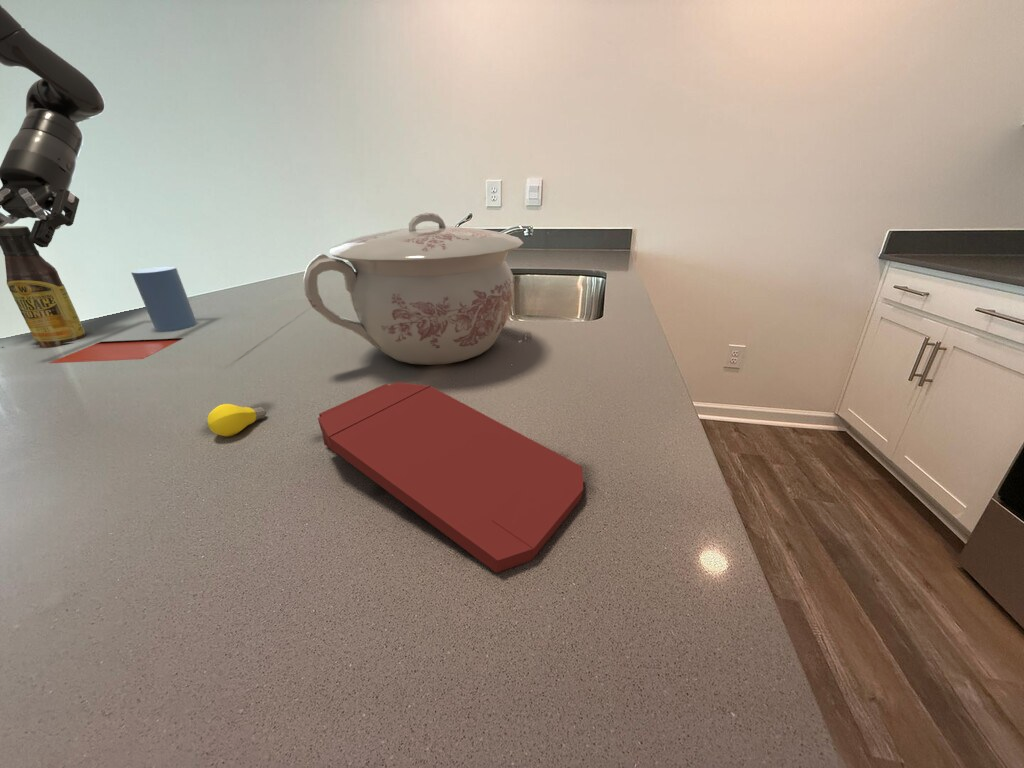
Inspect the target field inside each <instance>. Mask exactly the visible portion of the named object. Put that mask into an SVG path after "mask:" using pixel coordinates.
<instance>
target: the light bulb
mask: <svg viewBox="0 0 1024 768" xmlns="http://www.w3.org/2000/svg"><path fill="white" fill-rule="evenodd" d="M266 415H267V410H266V409H264V408H263V407H261V406H259V407H255V408H252V407H250V406H249V407H248V406H241V405H236V404H231V403H222V404H220V405H217V406H216V407H215V408H213V409H212V410H211V411H210V412H209V414H208V415H207V420H206V422H207V425H208V428H209V430H210V431H211V432H212V433H214V434H216V435H219V436H222V437H233V436H235V435H237V434H239V433H240V432H241V431H242V430H244V429H245V428H247V426H249V425H252V424H253V423H254V422H255V421H258V420H259V421H260V420H263V419H265V418H266Z"/></svg>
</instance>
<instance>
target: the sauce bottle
mask: <svg viewBox="0 0 1024 768" xmlns="http://www.w3.org/2000/svg"><path fill="white" fill-rule="evenodd" d="M30 233H31V230H30V228H29V227H28V226H26V225H9V226H8V225H7V226H6V225H4V226H3V227H0V248H1V250H2V253H3V254H2V255H4V264H5V274H6V285H7V287H8V289H9V292H10V293H11V295H12V297H13V299H14V302H15V304H16V306H17V307H18V309H19V311H20V314H21V316H22V317H23V319H24V322H25V324H26V326H27V327H28V329H29V331H30V333H31V335H32V337H33V340H34V341H35V342H36V343H37V344H38V346H39V347H40V348H55V347H56V348H57V347H62V346H67V345H72V344H73V342H72V341H76V340H79V339H83V338H84V337H85V336H86V331H85V329H84V326H83V325H82V322H81V320H80V317H79V315H78V314H77V313H78V312H77V311H76V308H75V306H74V304H73V302H72V300H71V298H70V296H69V293H68V291H67V289H66V286H65V284H64V283H63V282H62V280H61V278H60V274H59V273H58V270H57V268H55V267H54V266H53V265H52V264H51V263H49V262H48V261H46V259H45V258H43V256H41V255H40V251H39V249H37V246H36V244H34V243H33V242H31V241H30V240H29V236H30Z"/></svg>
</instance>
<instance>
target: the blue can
mask: <svg viewBox="0 0 1024 768" xmlns="http://www.w3.org/2000/svg"><path fill="white" fill-rule="evenodd" d="M130 274H131V276H132V278H133V281H134V283H135V285H136V288H137V290H138V292H139V295H140V297H141V300H142V302H143V304H144V307H145V309H146V311H147V314H148V316H149V318H150V321H151V323H152V325H153V328H154V330H155V331H156V332H159V333H167V332H176V331H182V330H185V329H189V328H192V327H194V326H197V324H198V322H197V319H196V317H195V313H194V311H193V308H192V306H191V303H190V301H189V298H188V295H187V292H186V289H185V287H184V285H183V282H182V279H181V277H180V274H179V271H178V268H177V267H176V266H156V267H147V268H140V269H135V270H132V271H131V272H130Z"/></svg>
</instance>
